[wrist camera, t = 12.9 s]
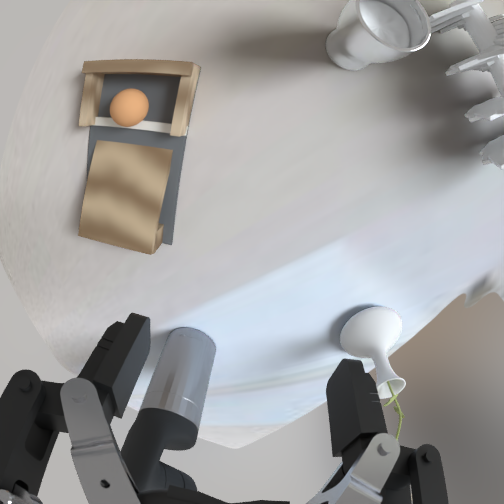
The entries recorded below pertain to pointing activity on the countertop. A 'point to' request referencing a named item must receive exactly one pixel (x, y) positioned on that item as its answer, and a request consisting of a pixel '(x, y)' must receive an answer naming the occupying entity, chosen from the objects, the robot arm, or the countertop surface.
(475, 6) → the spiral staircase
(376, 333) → the flower in vase
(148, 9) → the countertop surface
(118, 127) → the mat
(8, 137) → the countertop surface
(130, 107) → the ball
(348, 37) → the beer glass
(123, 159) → the ramp
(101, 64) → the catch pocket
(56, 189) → the countertop surface
